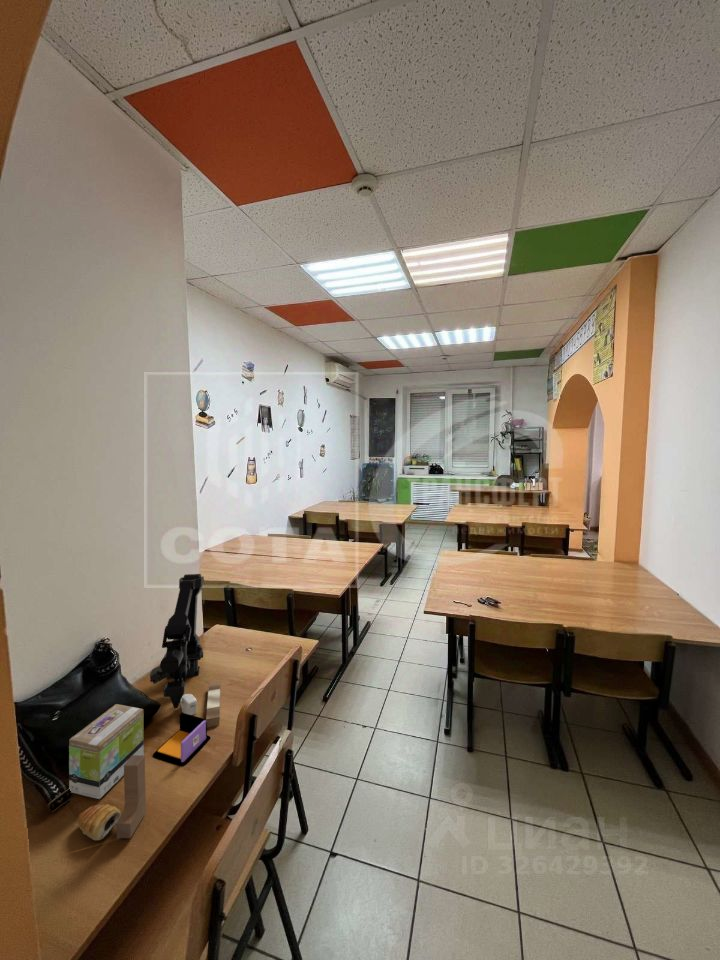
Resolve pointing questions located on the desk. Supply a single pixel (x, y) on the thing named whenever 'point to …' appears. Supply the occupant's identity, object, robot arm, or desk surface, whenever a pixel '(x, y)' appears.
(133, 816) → the wooden block
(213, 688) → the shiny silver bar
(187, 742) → the business card holder
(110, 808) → the pastry
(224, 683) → the desk surface
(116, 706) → the tea box
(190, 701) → the power adapter
